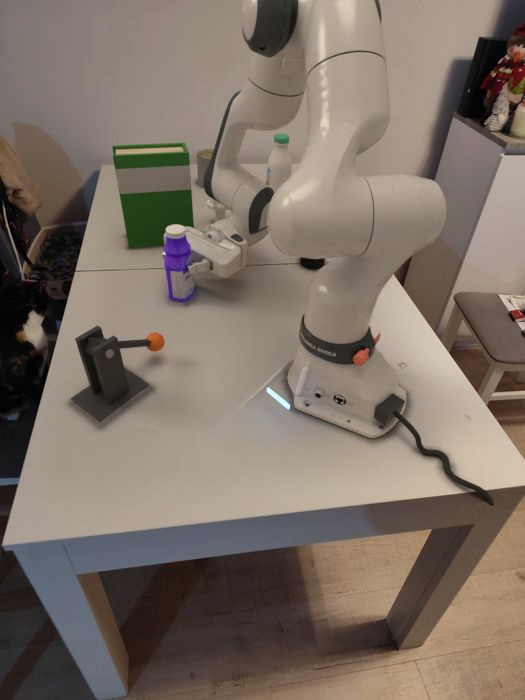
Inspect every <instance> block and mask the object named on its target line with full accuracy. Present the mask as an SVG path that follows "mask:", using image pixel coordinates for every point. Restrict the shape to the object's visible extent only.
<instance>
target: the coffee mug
mask: <svg viewBox="0 0 525 700" xmlns="http://www.w3.org/2000/svg"><path fill="white" fill-rule="evenodd" d="M214 148H215V147H205V148H200V149H199V150H197V151H196V166H197V167H196V169H197V183H198V185H199V187H202V188H204V183H203V177H204V173H205V170H206V168H207V166H208V164H209V162H210V160H211V158H212V155H213V151H214Z"/></svg>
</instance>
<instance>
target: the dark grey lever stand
mask: <svg viewBox="0 0 525 700" xmlns="http://www.w3.org/2000/svg"><path fill="white" fill-rule="evenodd" d="M90 337H104V338H105V336H104V333H103V329H102V327H101V326H100V325H96V326H94V327H93V328H91V329H88V330H87V331H86V332H84V333H82V334H81V335H78V336H77V337H75V338H74V340H75V344H76V346H77V350H78V353H79V357H80V360H81V362H82V365H83V369H84V371H85V375H86V377H87V381H88V384H89V385H88V386H86V388H83V390H81V391H79V392H78V393H76V394H75V395H73V396H72V397H70V400H71V401H72V402H73V403H75V404H76V405H77V406H78V407H80V408H81V409H82V410H84V411H85V412H86V413H88V414H89V415H90V416H92V417H93V418H94V419H95V420H97V421H98V422H99V423H100V422H102V421H103V420H105V419H106V418H107V417H108V416H110V415H112V414H113V413H114V412H115V411H117V410H118V409H119V408H121V407H122V406H123V405H125V404H126V403H127V402H129V401H130V400H131V399H133V398H135V397H136V396H137V395H138V394H139V393H141V392H142V391H143V390H145V389H146V388H147V387H149V386H150V383H148V382H147V381H145V380H143V379H142V378H141V377H139V376H137V375H136V374H134V372H132V371H130V370H129V369H127V368H126V367H125V366H124V364H125V363H124V361H123V356H122V352H121V349H120V347H119V343H118V341H119V340H118V339H119V338H118V337H117V336H115V335H112V336H110V337H108V338H106V339H107V340H105V341H104V342H102V343H100V344H99V345H97V346H95V347H94V348H92V349H91V352H92V355H93V356H92V355H91V354H89V353H88V352H86V347H87V343H88V339H89V338H90Z"/></svg>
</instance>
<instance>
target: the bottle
mask: <svg viewBox="0 0 525 700" xmlns="http://www.w3.org/2000/svg"><path fill="white" fill-rule="evenodd" d="M190 249H191V246H190V244H189V243H188V241H187V239H186V231H185V227H184V226H182V225H178V224H175V225H170V226H168V227H167V228H166V243H165V245H163V251H165V252H166V254H165V259H163V260H164V261H163V263H164V264H163V266H164V273H165V281H166V288H167V297H168V299H169V300H170V301H173V302H177V303H185V302H188V301H190V300H191V299H192V298H193V296H194V295H195V292H196V284H195V273H194V274H190V273H188V272H186V265H187V264H189V263H191V262H192V263H194V262H193V256H192V253H191V251H190Z"/></svg>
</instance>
